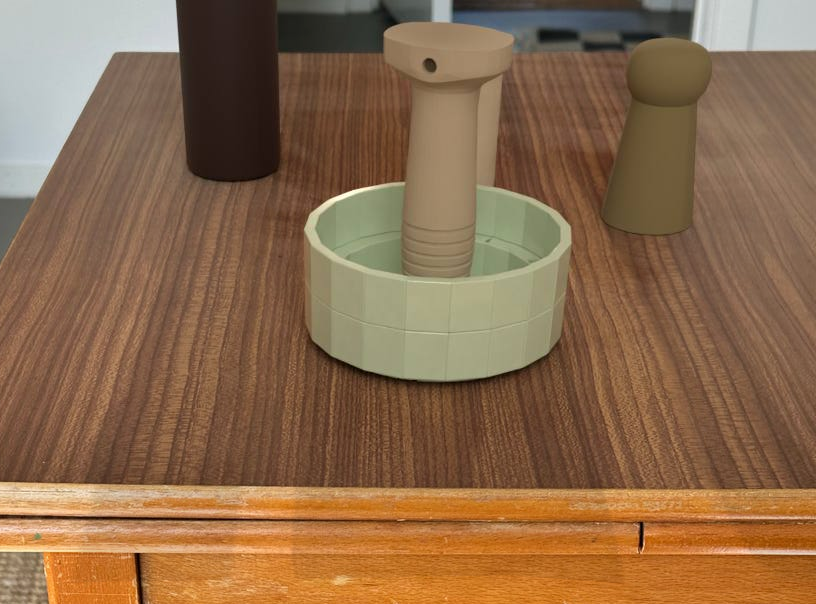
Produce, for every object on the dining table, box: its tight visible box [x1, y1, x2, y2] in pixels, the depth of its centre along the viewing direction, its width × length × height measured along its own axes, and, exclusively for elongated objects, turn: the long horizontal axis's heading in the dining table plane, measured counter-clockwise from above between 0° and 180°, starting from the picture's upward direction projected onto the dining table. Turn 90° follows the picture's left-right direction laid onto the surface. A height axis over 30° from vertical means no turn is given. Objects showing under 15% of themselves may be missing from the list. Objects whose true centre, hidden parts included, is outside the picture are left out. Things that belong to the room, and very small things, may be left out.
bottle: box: [175, 0, 282, 182], centre depth 89 cm, size 7×7×20 cm
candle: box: [476, 73, 504, 187], centre depth 88 cm, size 6×6×10 cm
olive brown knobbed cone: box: [600, 37, 713, 236], centre depth 85 cm, size 6×6×11 cm
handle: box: [382, 21, 515, 278], centre depth 69 cm, size 5×6×15 cm
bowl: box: [303, 181, 573, 383], centre depth 73 cm, size 14×14×6 cm
